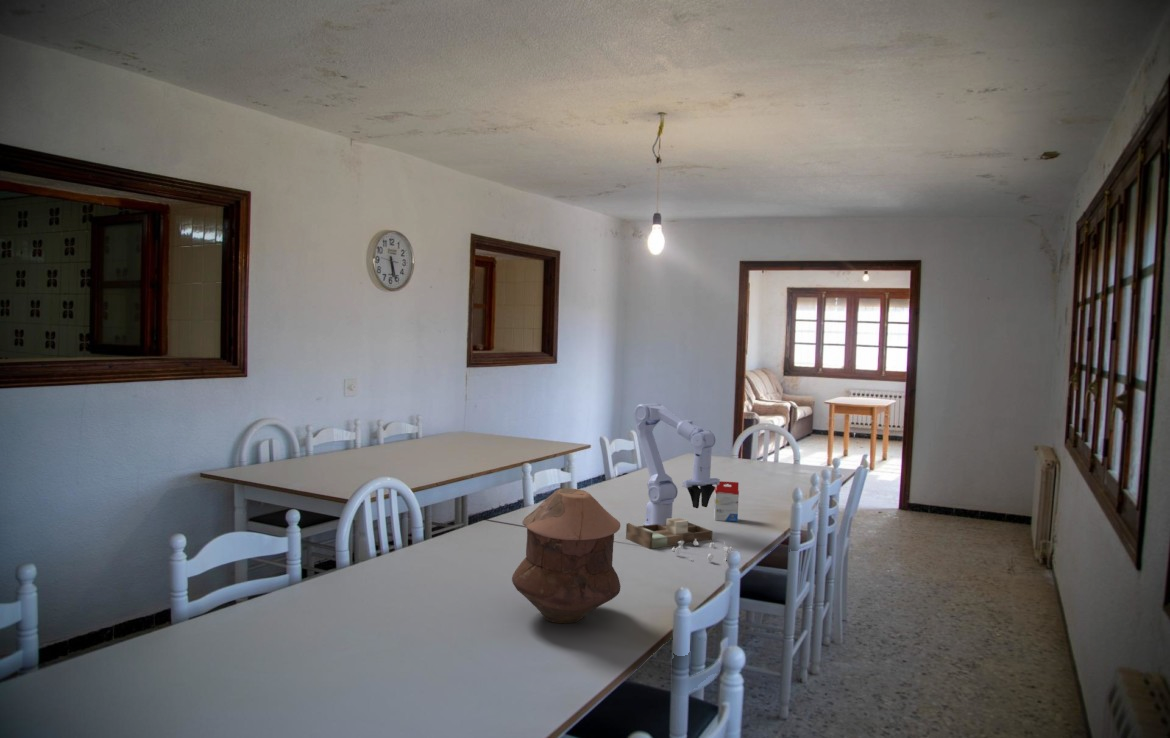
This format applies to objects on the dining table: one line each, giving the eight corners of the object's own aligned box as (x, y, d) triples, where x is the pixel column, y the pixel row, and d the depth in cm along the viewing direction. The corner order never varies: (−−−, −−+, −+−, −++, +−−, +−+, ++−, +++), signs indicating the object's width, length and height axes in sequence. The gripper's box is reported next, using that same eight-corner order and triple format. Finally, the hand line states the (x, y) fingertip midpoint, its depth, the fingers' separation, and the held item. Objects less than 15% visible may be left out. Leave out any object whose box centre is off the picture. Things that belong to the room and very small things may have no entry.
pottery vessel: (539, 591, 198) (543, 476, 196) (633, 607, 188) (638, 487, 187) (491, 624, 174) (496, 494, 172) (596, 646, 164) (602, 508, 163)
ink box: (736, 518, 287) (738, 480, 286) (737, 522, 282) (739, 482, 281) (713, 517, 287) (715, 478, 287) (714, 520, 282) (716, 481, 282)
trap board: (622, 536, 254) (623, 522, 254) (683, 529, 268) (684, 515, 267) (649, 548, 241) (650, 533, 241) (712, 539, 255) (712, 525, 255)
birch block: (666, 530, 253) (666, 518, 252) (677, 529, 255) (678, 517, 255) (675, 534, 248) (676, 522, 248) (687, 532, 251) (688, 520, 251)
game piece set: (734, 567, 227) (735, 554, 227) (667, 560, 231) (667, 547, 230) (735, 549, 246) (735, 537, 246) (672, 543, 250) (673, 532, 249)
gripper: (692, 470, 249) (690, 511, 249) (726, 467, 256) (724, 507, 257) (679, 466, 255) (677, 507, 255) (712, 464, 262) (710, 503, 263)
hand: (700, 507), depth 257 cm, fingers open, 3 cm apart
